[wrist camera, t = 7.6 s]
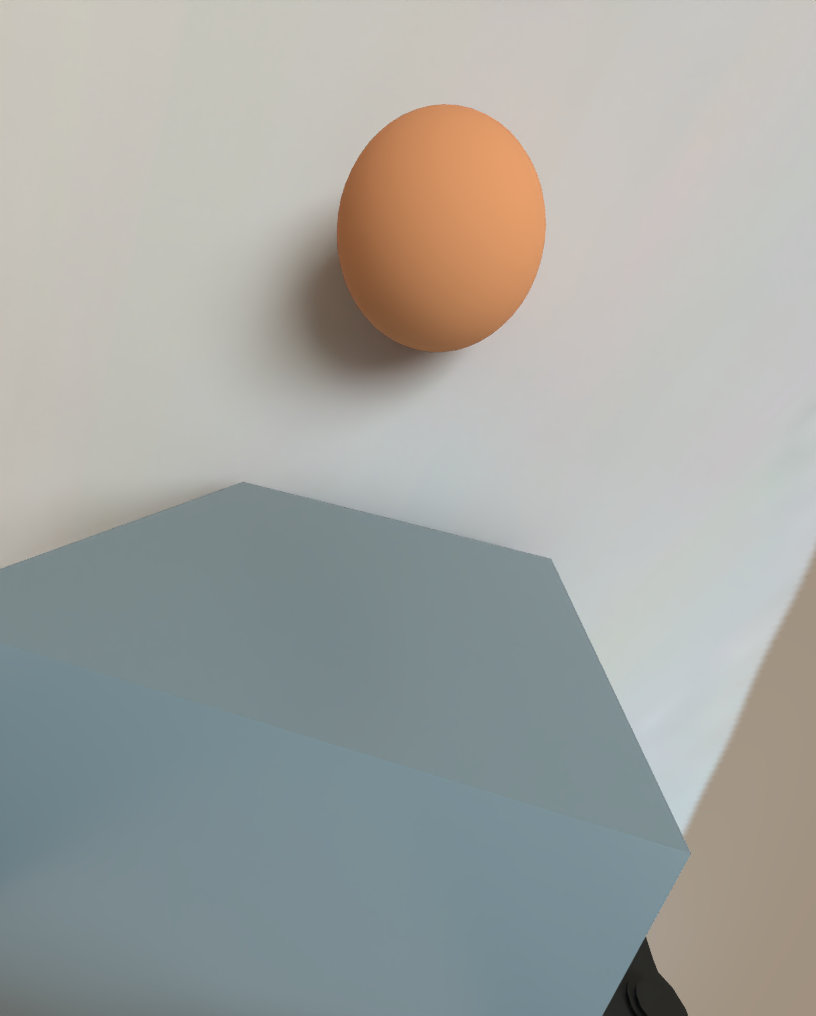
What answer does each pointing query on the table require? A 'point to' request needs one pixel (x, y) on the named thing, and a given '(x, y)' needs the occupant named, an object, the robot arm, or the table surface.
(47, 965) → the blue-grey block
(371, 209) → the brown egg
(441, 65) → the table surface
